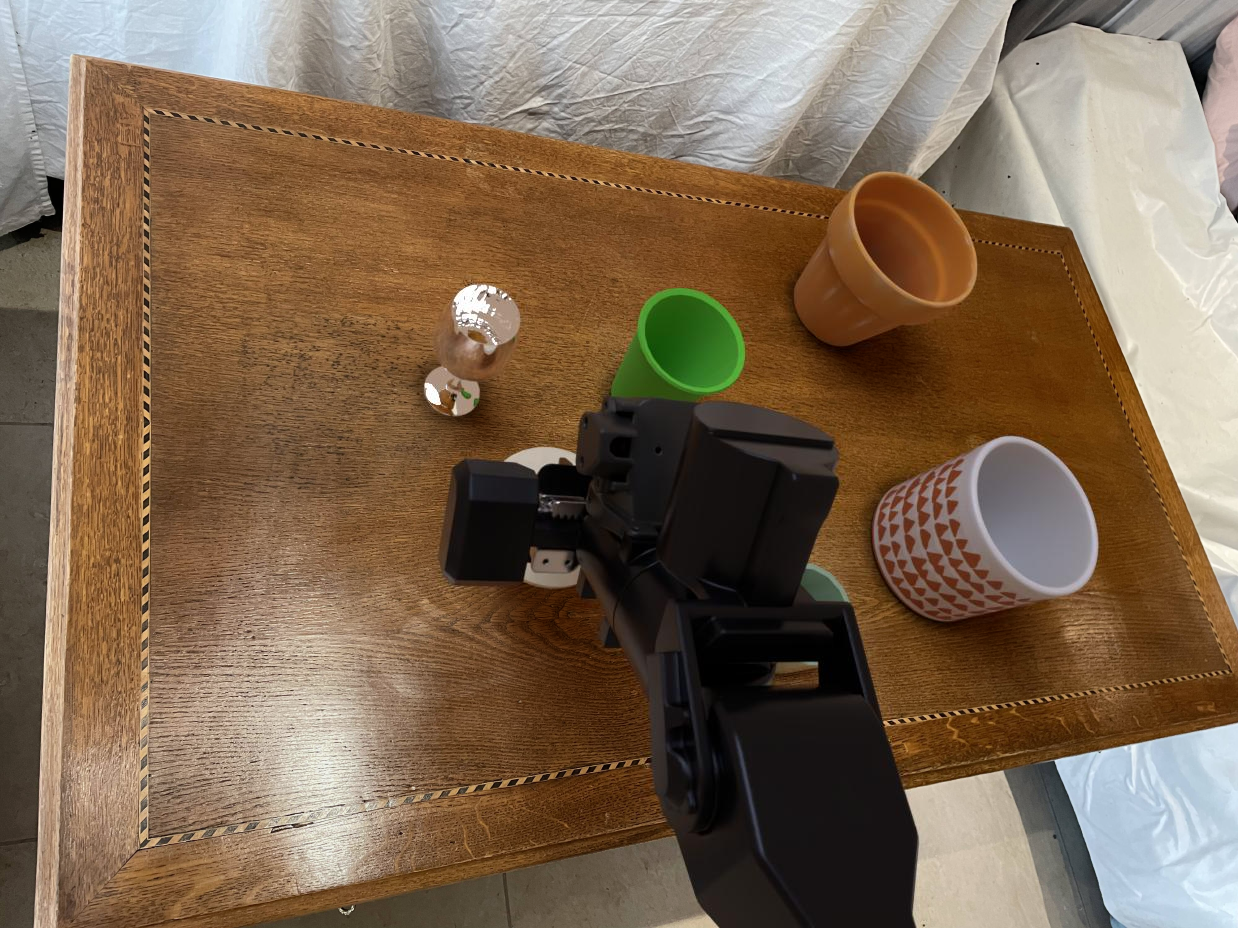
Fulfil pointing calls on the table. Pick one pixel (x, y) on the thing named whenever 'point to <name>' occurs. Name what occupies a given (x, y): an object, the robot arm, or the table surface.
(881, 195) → the flower pot
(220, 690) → the table surface
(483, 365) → the wineglass
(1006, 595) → the planter
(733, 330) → the cup
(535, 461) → the pole on white disc
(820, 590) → the tumbler
